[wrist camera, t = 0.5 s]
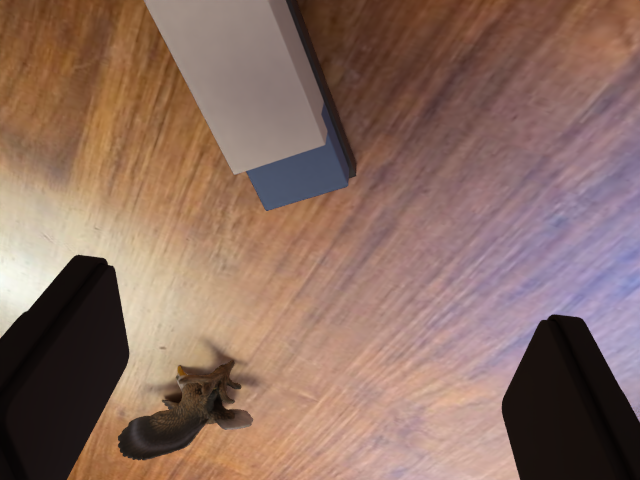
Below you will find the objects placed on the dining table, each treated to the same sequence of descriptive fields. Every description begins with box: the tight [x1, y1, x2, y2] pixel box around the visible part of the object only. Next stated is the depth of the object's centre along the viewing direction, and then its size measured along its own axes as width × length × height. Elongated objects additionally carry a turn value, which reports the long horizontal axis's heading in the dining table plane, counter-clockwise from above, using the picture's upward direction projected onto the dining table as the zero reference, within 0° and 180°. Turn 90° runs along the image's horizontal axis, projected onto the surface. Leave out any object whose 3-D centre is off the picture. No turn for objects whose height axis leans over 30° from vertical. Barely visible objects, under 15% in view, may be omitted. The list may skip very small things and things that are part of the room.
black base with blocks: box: [144, 0, 356, 211], centre depth 23 cm, size 12×5×5 cm, turn 21°
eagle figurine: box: [118, 360, 253, 460], centre depth 37 cm, size 8×7×9 cm
